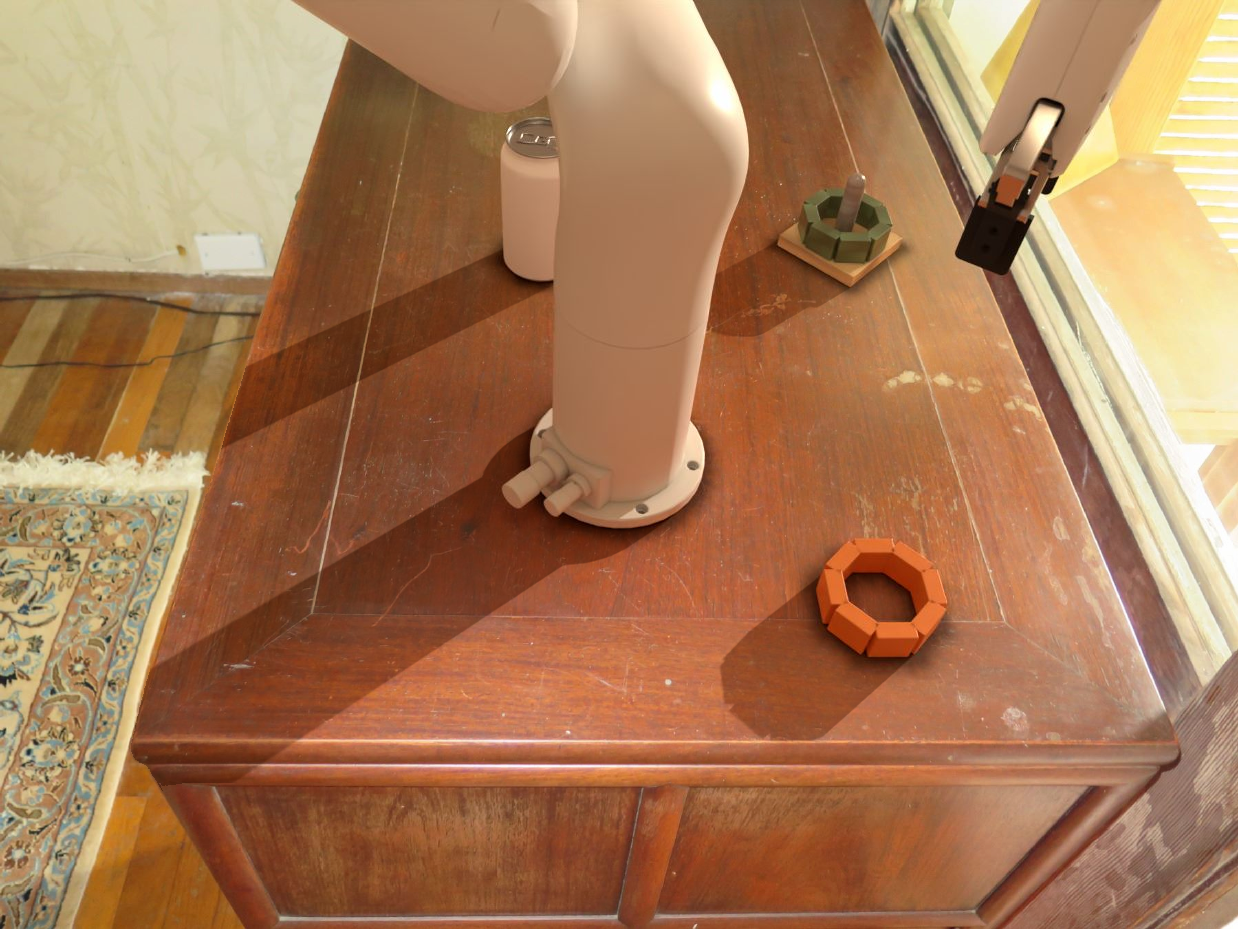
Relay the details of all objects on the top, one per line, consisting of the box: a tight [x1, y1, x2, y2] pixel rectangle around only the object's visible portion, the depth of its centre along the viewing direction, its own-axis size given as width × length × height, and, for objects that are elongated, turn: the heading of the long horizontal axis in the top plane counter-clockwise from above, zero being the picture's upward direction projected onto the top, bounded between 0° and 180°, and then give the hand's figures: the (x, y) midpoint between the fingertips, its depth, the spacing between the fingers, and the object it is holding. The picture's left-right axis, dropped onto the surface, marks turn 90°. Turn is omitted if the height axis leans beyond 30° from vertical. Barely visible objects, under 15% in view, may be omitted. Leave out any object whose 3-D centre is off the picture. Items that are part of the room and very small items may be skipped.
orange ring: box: [815, 537, 949, 658], centre depth 64 cm, size 8×8×2 cm
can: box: [499, 116, 560, 283], centre depth 81 cm, size 6×6×12 cm
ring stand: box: [776, 172, 903, 288], centre depth 87 cm, size 8×8×8 cm
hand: (1004, 223), depth 61 cm, fingers open, 9 cm apart
